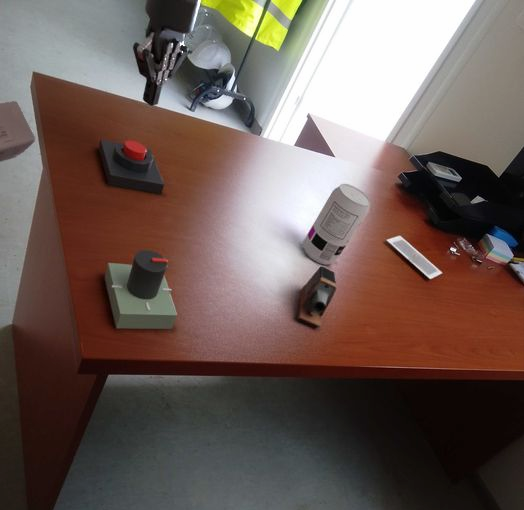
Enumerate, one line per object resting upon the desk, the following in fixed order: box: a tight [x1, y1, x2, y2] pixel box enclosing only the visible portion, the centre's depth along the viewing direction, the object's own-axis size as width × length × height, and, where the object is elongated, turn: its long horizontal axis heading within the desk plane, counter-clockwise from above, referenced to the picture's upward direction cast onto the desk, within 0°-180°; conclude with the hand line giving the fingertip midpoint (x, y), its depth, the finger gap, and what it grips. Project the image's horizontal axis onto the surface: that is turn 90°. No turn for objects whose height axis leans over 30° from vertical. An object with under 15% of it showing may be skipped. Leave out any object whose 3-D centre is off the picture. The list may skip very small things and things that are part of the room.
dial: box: [127, 249, 168, 299], centre depth 63 cm, size 4×4×6 cm
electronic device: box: [296, 265, 337, 329], centre depth 81 cm, size 4×10×8 cm, turn 174°
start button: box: [123, 139, 147, 160], centre depth 86 cm, size 4×4×2 cm
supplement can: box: [302, 183, 372, 266], centre depth 94 cm, size 8×8×15 cm
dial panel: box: [104, 262, 178, 330], centre depth 66 cm, size 10×9×3 cm
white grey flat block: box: [386, 235, 443, 280], centre depth 116 cm, size 8×15×2 cm, turn 46°
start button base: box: [98, 138, 165, 195], centre depth 88 cm, size 12×10×4 cm
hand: (150, 102), depth 79 cm, fingers closed
